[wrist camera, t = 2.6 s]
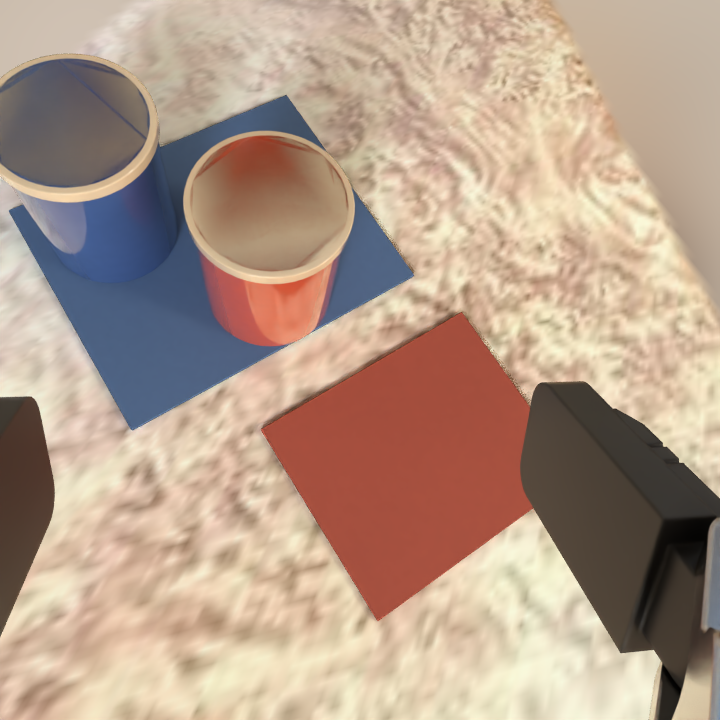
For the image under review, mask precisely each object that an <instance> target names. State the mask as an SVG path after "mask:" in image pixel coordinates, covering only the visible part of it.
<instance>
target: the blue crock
mask: <svg viewBox="0 0 720 720" xmlns="http://www.w3.org/2000/svg"><path fill="white" fill-rule="evenodd" d="M159 134H160V130H159V120H158V115H157V111H156V107H155V104H154V102H153V99H152V97H151V95H150V94H149V92H148V90H147V89H146V88H145V86H144V85H143V84H142V83H141V82H140V81H139V80H138V79H137V78H136V77H135V76H134V75H133V74H131V73H130V72H129V71H127V70H126V69H124V68H122V67H121V66H119V65H117V64H115V63H113V62H110V61H108V60H105V59H102V58H99V57H94V56H90V55H83V54H56V55H49V56H44V57H40V58H37V59H33V60H30V61H28V62H26V63H23V64H21V65H19V66H17V67H15V68H14V69H12V70H10V71H9V72H8V73H6V74H5V75H3V76H2V77H1V78H0V177H1V178H2V179H3V180H4V181H6V182H7V183H8V184H9V185H11V187H12V188H13V190H14V191H15V193H16V194H17V196H18V197H19V199H20V201H21V202H22V204H23V205H24V207H25V208H26V210H27V211H28V213H29V214H30V216H31V218H32V219H33V221H34V222H35V224H36V225H37V227H38V228H39V230H40V231H41V233H42V235H43V236H44V238H45V239H46V241H47V242H48V244H49V245H50V247H51V248H52V250H53V251H54V253H55V255H56V256H57V257H58V259H59V260H60V261H61V263H62V264H63V265H64V266H65V267H67V268H68V269H69V270H70V271H72V272H73V273H75V274H77V275H78V276H81V277H83V278H85V279H88V280H91V281H96V282H101V283H122V282H128V281H131V280H135V279H138V278H140V277H143V276H145V275H147V274H148V273H150V272H152V271H153V270H155V269H156V268H157V267H159V266H160V265H161V264H162V263H163V262H164V261H165V259H166V258H167V257H168V256H169V254H170V253H171V251H172V249H173V247H174V245H175V243H176V239H177V235H178V219H177V214H176V210H175V206H174V202H173V198H172V193H171V189H170V185H169V181H168V177H167V173H166V169H165V165H164V161H163V157H162V153H161V149H160V145H159Z"/></svg>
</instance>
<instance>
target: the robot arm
mask: <svg viewBox="0 0 720 720" xmlns="http://www.w3.org/2000/svg"><path fill="white" fill-rule="evenodd" d="M520 474H521V481H522V486H523V489H524V492H525V494H526V496H527V498H528V500H529V501H530V503H531V505H532V506H533V508H534V510H535V511H536V513H537V515H538V516H539V518H540V520H541V521H542V523H543V525H544V526H545V528H546V530H547V531H548V533H549V535H550V536H551V538H552V540H553V541H554V543H555V545H556V546H557V548H558V550H559V551H560V553H561V555H562V556H563V558H564V560H565V561H566V563H567V565H568V566H569V568H570V570H571V571H572V573H573V575H574V576H575V578H576V580H577V581H578V583H579V585H580V586H581V588H582V590H583V591H584V593H585V595H586V596H587V598H588V600H589V601H590V603H591V605H592V606H593V608H594V610H595V611H596V613H597V615H598V616H599V618H600V620H601V621H602V623H603V625H604V626H605V628H606V630H607V631H608V633H609V635H610V636H611V638H612V640H613V641H614V643H615V645H616V646H617V648H618V650H619V651H620V653H627V652H637V651H647V650H654V651H655V652H656V654H657V655H658V657H659V658H660V660H661V662H660V664H659V667H658V670H657V673H656V676H655V680H654V687H653V694H652V700H651V707H650V714H649V720H720V498H719V497H718V496H717V495H716V494H715V493H714V492H713V491H711V490H710V489H709V488H708V487H707V486H706V485H705V484H704V483H703V482H702V481H701V480H700V479H699V478H698V477H697V476H696V475H695V474H694V473H693V472H692V471H691V470H690V469H689V468H688V467H687V466H686V465H685V464H684V463H679V458H678V457H677V456H676V455H675V454H674V453H673V452H671V451H670V450H669V449H668V448H667V447H663V443H662V442H661V441H660V440H659V439H658V438H657V437H656V436H655V435H654V434H653V433H652V432H651V431H650V430H649V429H648V428H647V427H646V426H645V425H644V424H642V423H640V422H639V421H637V420H635V419H633V418H632V417H630V416H628V415H626V414H624V413H623V412H621V411H619V410H617V409H612V408H611V407H610V406H609V405H608V404H607V403H606V402H605V400H604V399H603V398H602V397H601V396H600V395H599V394H598V393H597V392H596V391H595V390H594V389H593V388H592V387H591V386H590V385H589V384H587V383H586V382H583V381H577V382H543V383H540V384H538V385H537V387H536V388H535V390H534V393H533V396H532V401H531V406H530V412H529V417H528V422H527V428H526V433H525V438H524V444H523V449H522V454H521V461H520ZM54 498H55V489H54V480H53V475H52V470H51V465H50V460H49V455H48V450H47V445H46V440H45V435H44V430H43V425H42V420H41V415H40V411H39V407H38V405H37V403H36V401H35V399H34V398H32V397H0V636H1V634H2V632H3V629H4V627H5V625H6V622H7V620H8V618H9V615H10V613H11V611H12V609H13V606H14V604H15V602H16V599H17V597H18V595H19V592H20V590H21V588H22V586H23V583H24V581H25V579H26V576H27V574H28V572H29V569H30V567H31V565H32V563H33V560H34V558H35V556H36V553H37V551H38V549H39V546H40V544H41V542H42V540H43V537H44V535H45V533H46V530H47V528H48V526H49V523H50V521H51V518H52V514H53V508H54Z"/></svg>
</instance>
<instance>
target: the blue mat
mask: <svg viewBox="0 0 720 720" xmlns="http://www.w3.org/2000/svg"><path fill="white" fill-rule="evenodd" d="M254 131H277V132H284V133H288V134H292V135H296V136H299V137H302V138H304V139H306V140H308V141H310V142H312V143H314V144H316V145H317V146H319V147H320V148H322V149H323V150H324V151H326V150H325V149H324V147H323V146H322V144H321V143H320V142H319V140H318V139H317V137H316V136H315V135H314V133H313V132H312V130H311V129H310V128H309V126H308V125H307V123H306V122H305V120H304V119H303V118H302V116H301V115H300V113H299V112H298V111H297V109H296V108H295V106H294V105H293V104H292V102H291V101H290V99H289V98H288V97H287V95H285V96H283V97H280V98H278V99H276V100H273V101H271V102H268V103H266V104H264V105H261V106H259V107H256V108H254V109H252V110H249V111H247V112H244V113H242V114H240V115H237V116H235V117H232V118H230V119H227V120H225V121H223V122H220V123H218V124H215V125H213V126H211V127H208V128H206V129H203V130H201V131H199V132H196V133H194V134H191V135H189V136H187V137H184V138H182V139H179V140H177V141H175V142H172V143H170V144H167V145H165V146H163V147H160V149H161V153H162V157H163V161H164V165H165V169H166V173H167V177H168V181H169V185H170V189H171V193H172V198H173V202H174V206H175V210H176V214H177V219H178V235H177V239H176V243H175V245H174V247H173V249H172V251H171V253H170V254H169V256H168V257H167V258H166V259H165V261H164V262H163V263H162V264H161V265H160V266H159V267H157V268H156V269H155V270H153V271H152V272H150V273H148V274H147V275H145V276H143V277H140V278H138V279H135V280H131V281H128V282H122V283H101V282H96V281H91V280H88V279H85V278H83V277H81V276H78V275H77V274H75V273H73V272H72V271H70V270H69V269H68V268H67V267H65V266H64V265H63V264H62V263H61V261H60V260H59V259H58V257H57V256H56V255H55V253H54V251H53V250H52V248H51V247H50V245H49V244H48V242H47V241H46V239H45V238H44V236H43V235H42V233H41V231H40V230H39V228H38V227H37V225H36V224H35V222H34V221H33V219H32V218H31V216H30V214H29V213H28V211H27V210H26V208H25V207H24V205H21V206H18V207H16V208H14V209H11V210H9V212H10V214H11V216H12V218H13V219H14V221H15V223H16V225H17V227H18V228H19V230H20V232H21V234H22V236H23V237H24V239H25V241H26V243H27V244H28V246H29V248H30V250H31V252H32V253H33V255H34V257H35V259H36V261H37V262H38V264H39V266H40V268H41V269H42V271H43V273H44V275H45V277H46V278H47V280H48V282H49V284H50V286H51V287H52V289H53V291H54V293H55V294H56V296H57V298H58V300H59V302H60V303H61V305H62V307H63V309H64V311H65V312H66V314H67V316H68V318H69V320H70V321H71V323H72V325H73V327H74V328H75V330H76V332H77V334H78V336H79V337H80V339H81V341H82V343H83V345H84V346H85V348H86V350H87V352H88V353H89V355H90V357H91V359H92V361H93V362H94V364H95V366H96V368H97V370H98V371H99V373H100V375H101V377H102V378H103V380H104V382H105V384H106V386H107V387H108V389H109V391H110V393H111V395H112V396H113V398H114V400H115V402H116V403H117V405H118V407H119V409H120V411H121V412H122V414H123V416H124V418H125V420H126V421H127V423H128V425H129V427H130V428H131V430H132V431H133V430H135V429H136V428H138V427H140V426H142V425H144V424H145V423H147V422H149V421H151V420H153V419H155V418H156V417H158V416H160V415H162V414H164V413H166V412H167V411H169V410H171V409H173V408H175V407H176V406H178V405H180V404H182V403H184V402H186V401H187V400H189V399H191V398H193V397H195V396H197V395H198V394H200V393H202V392H204V391H206V390H207V389H209V388H211V387H213V386H215V385H217V384H218V383H220V382H222V381H224V380H226V379H227V378H229V377H231V376H233V375H235V374H237V373H238V372H240V371H242V370H244V369H246V368H248V367H249V366H251V365H253V364H255V363H257V362H258V361H260V360H262V359H264V358H266V357H268V356H269V355H271V354H273V353H275V352H277V351H279V350H280V349H282V348H284V347H286V346H288V345H289V344H291V343H289V344H286V345H281V346H259V345H254V344H250V343H247V342H245V341H242V340H240V339H238V338H236V337H235V336H233V335H231V334H230V333H229V332H228V331H226V330H225V329H224V328H223V327H222V326H221V325H220V324H219V322H218V321H217V320H216V318H215V317H214V315H213V313H212V311H211V309H210V306H209V303H208V298H207V293H206V289H205V284H204V279H203V274H202V269H201V265H200V260H199V255H198V250H197V246H196V244H195V243H194V241H193V239H192V237H191V235H190V233H189V230H188V227H187V224H186V219H185V214H184V209H183V196H184V189H185V185H186V181H187V179H188V177H189V174H190V172H191V170H192V169H193V167H194V166H195V164H196V163H197V161H198V160H199V159H200V158H201V157H202V156H203V155H204V154H205V153H206V152H207V151H208V150H209V149H210V148H212V147H213V146H215V145H216V144H218V143H219V142H221V141H223V140H225V139H227V138H230V137H233V136H235V135H238V134H243V133H247V132H254ZM351 188H352V187H351ZM352 191H353V195H354V202H355V215H354V221H353V226H352V230H351V233H350V236H349V239H348V241H347V243H346V245H345V247H344V248H343V249H342V251H341V255H340V260H339V264H338V268H337V273H336V277H335V281H334V286H333V290H332V294H331V299H330V303H329V306H328V309H327V312H326V314H325V316H324V318H323V319H322V321H321V322H320V324H319V325H318V326H317V327H316V328H315V329H314V330H313V331H315V330H317V329H319V328H320V327H322V326H324V325H326V324H328V323H330V322H331V321H333V320H335V319H337V318H339V317H341V316H342V315H344V314H346V313H348V312H350V311H351V310H353V309H355V308H357V307H359V306H361V305H362V304H364V303H366V302H368V301H370V300H372V299H373V298H375V297H377V296H379V295H381V294H382V293H384V292H386V291H388V290H390V289H392V288H393V287H395V286H397V285H399V284H401V283H403V282H404V281H406V280H408V279H410V278H412V277H413V276H414V274H413V273H412V271H411V270H410V269H409V267H408V266H407V264H406V263H405V262H404V260H403V259H402V257H401V256H400V255H399V253H398V252H397V250H396V249H395V247H394V246H393V245H392V243H391V242H390V240H389V239H388V238H387V236H386V235H385V233H384V232H383V231H382V229H381V228H380V226H379V225H378V223H377V222H376V221H375V219H374V218H373V216H372V215H371V214H370V212H369V211H368V209H367V208H366V207H365V205H364V204H363V202H362V201H361V200H360V198H359V197H358V195H357V194H356V192H355V191H354V190H353V188H352ZM313 331H312V332H313ZM310 333H311V332H310ZM310 333H309V334H310ZM292 343H293V342H292Z"/></svg>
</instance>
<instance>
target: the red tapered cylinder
mask: <svg viewBox="0 0 720 720" xmlns="http://www.w3.org/2000/svg"><path fill="white" fill-rule="evenodd" d="M183 209H184V214H185V219H186V224H187V227H188V230H189V233H190V235H191V237H192V239H193V241H194V243H195V244H196V246H197V250H198V255H199V260H200V265H201V269H202V274H203V279H204V284H205V289H206V293H207V298H208V303H209V306H210V309H211V311H212V313H213V315H214V317H215V318H216V320H217V321H218V322H219V324H220V325H221V326H222V327H223V328H224V329H225V330H226V331H228V332H229V333H230V334H231V335H233V336H235V337H236V338H238V339H240V340H242V341H245V342H247V343H250V344H254V345H259V346H281V345H286V344H289V343H292V342H295V341H297V340H299V339H302V338H303V337H305V336H306V335H308V334H309V333H310V332H312V331H313V330H314V329H315V328H316V327H317V326H318V325H319V324H320V322H321V321H322V319H323V318H324V316H325V314H326V312H327V309H328V306H329V303H330V299H331V294H332V290H333V286H334V281H335V277H336V273H337V268H338V264H339V260H340V255H341V251H342V249H343V248H344V247H345V245H346V243H347V241H348V239H349V236H350V233H351V230H352V226H353V221H354V215H355V202H354V195H353V191H352V188H351V185H350V182H349V180H348V178H347V176H346V174H345V173H344V171H343V169H342V168H341V167H340V165H339V164H338V163H337V162H336V160H335V159H334V158H332V157H331V156H330V155H329V154H328V153H327V152H326V151H324V150H323V149H322V148H320V147H319V146H317V145H316V144H314V143H312V142H310V141H308V140H306V139H304V138H302V137H299V136H296V135H292V134H288V133H284V132H277V131H254V132H247V133H243V134H238V135H235V136H233V137H230V138H227V139H225V140H223V141H221V142H219V143H218V144H216V145H215V146H213V147H212V148H210V149H209V150H208V151H207V152H206V153H205V154H204V155H203V156H202V157H201V158H200V159H199V160H198V161H197V163H196V164H195V166H194V167H193V169H192V170H191V172H190V174H189V177H188V179H187V181H186V185H185V189H184V196H183Z"/></svg>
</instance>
